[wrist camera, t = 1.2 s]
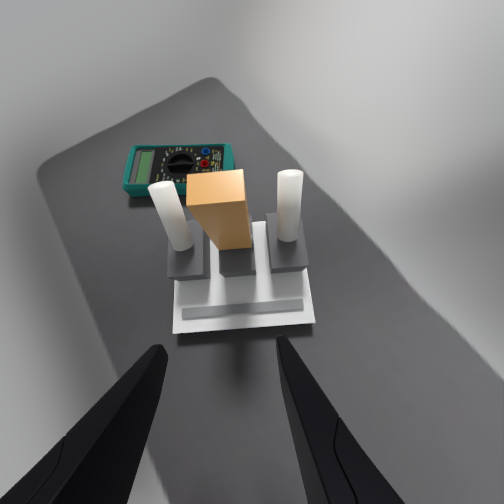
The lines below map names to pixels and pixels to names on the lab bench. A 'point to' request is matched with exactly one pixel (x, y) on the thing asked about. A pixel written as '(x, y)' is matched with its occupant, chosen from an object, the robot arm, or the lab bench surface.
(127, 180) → the digital multimeter
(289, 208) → the twin post stand
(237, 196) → the wooden block
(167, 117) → the lab bench surface
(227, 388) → the lab bench surface
